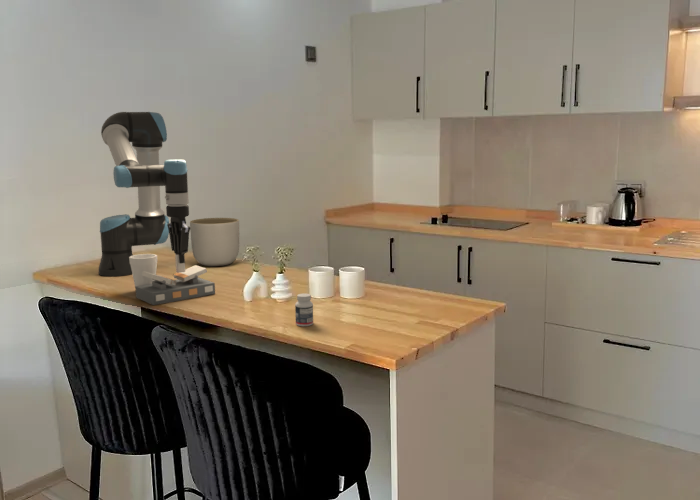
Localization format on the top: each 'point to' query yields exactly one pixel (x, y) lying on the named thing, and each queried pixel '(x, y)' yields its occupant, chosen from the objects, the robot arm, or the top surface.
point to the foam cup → (143, 267)
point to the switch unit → (174, 290)
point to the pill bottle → (304, 310)
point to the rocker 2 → (190, 273)
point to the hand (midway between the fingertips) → (180, 271)
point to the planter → (215, 240)
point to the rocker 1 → (159, 278)
